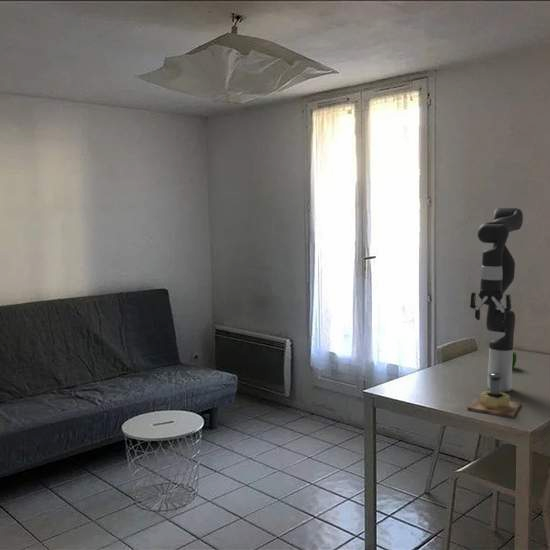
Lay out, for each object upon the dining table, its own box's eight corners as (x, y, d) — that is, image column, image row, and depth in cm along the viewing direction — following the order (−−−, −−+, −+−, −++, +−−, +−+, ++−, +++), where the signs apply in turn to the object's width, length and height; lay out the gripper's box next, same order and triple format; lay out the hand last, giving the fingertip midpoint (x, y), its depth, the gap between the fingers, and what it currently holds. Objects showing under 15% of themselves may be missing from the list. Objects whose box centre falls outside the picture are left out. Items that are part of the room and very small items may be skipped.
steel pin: (485, 403, 226) (486, 372, 224) (497, 402, 226) (498, 372, 225) (491, 407, 221) (492, 376, 220) (503, 406, 222) (504, 375, 220)
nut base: (467, 409, 221) (468, 396, 221) (477, 398, 235) (478, 386, 234) (513, 417, 213) (513, 404, 212) (520, 405, 226) (521, 392, 226)
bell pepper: (512, 366, 284) (513, 345, 283) (518, 370, 275) (519, 349, 274) (494, 365, 284) (495, 345, 283) (499, 370, 276) (500, 349, 275)
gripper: (513, 278, 220) (511, 321, 221) (474, 275, 227) (472, 317, 229) (509, 280, 213) (507, 324, 215) (469, 277, 221) (467, 320, 223)
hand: (489, 320), depth 222 cm, fingers open, 8 cm apart
